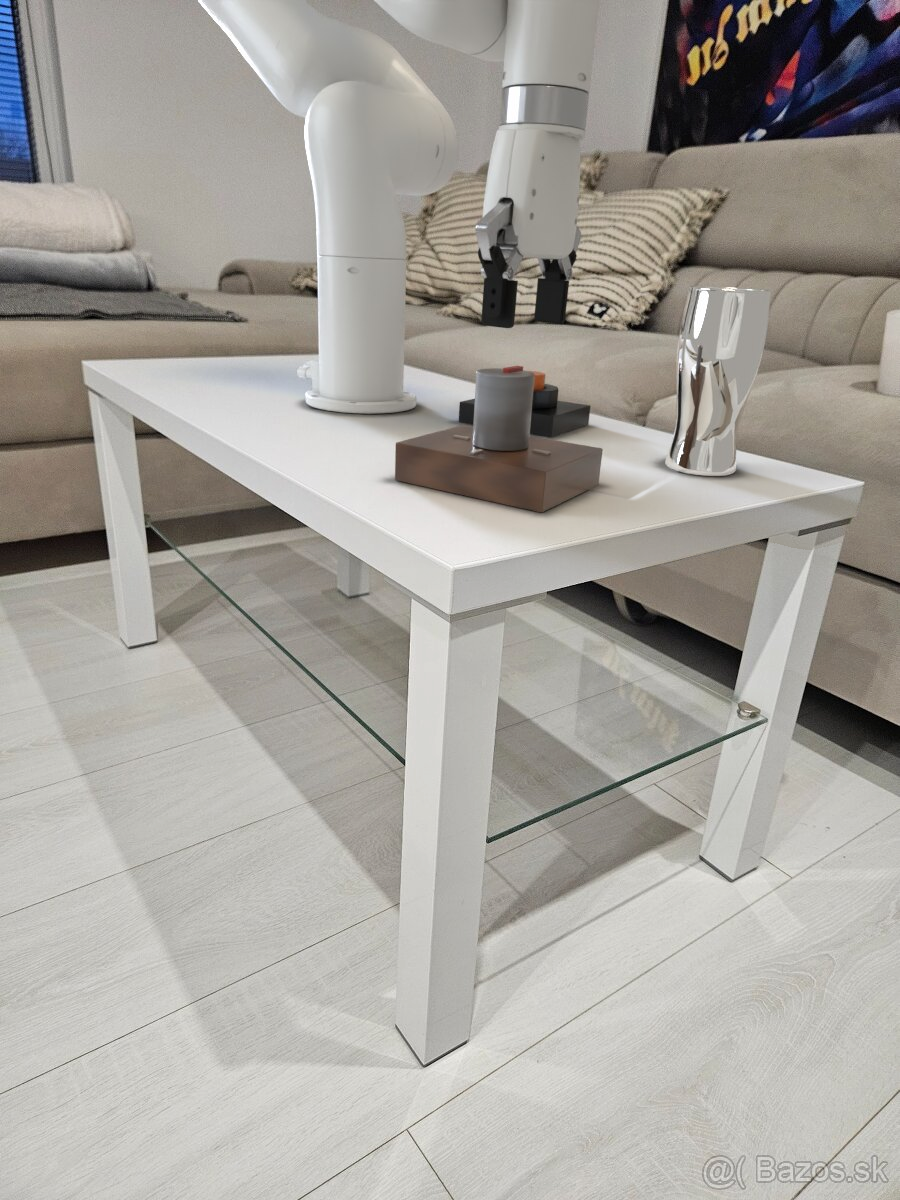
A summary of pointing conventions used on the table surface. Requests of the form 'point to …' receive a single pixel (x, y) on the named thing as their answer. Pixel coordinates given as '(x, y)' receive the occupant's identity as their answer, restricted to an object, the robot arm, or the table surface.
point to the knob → (503, 408)
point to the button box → (543, 413)
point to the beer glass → (715, 375)
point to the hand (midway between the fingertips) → (524, 324)
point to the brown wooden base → (499, 468)
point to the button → (538, 380)
